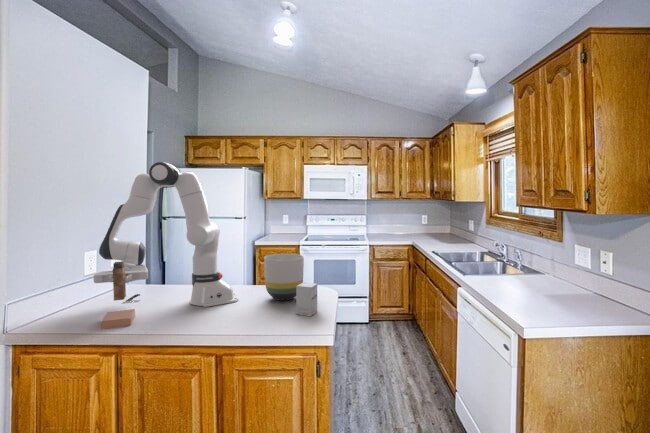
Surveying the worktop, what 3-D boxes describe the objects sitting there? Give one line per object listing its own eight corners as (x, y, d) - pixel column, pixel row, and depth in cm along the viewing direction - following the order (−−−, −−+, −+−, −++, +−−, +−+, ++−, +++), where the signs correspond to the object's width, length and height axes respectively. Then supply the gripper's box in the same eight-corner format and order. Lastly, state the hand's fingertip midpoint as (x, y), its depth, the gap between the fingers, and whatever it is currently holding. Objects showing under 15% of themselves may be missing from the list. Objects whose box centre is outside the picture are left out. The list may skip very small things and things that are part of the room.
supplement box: (311, 316, 147) (311, 287, 146) (295, 314, 149) (295, 285, 149) (317, 311, 154) (317, 283, 153) (302, 309, 156) (302, 281, 156)
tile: (134, 308, 148) (130, 317, 136) (135, 316, 148) (130, 326, 137) (107, 311, 144) (101, 321, 133) (108, 319, 144) (101, 329, 133)
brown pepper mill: (125, 296, 146) (124, 261, 145) (123, 299, 141) (122, 263, 140) (116, 297, 144) (114, 261, 143) (113, 300, 140) (112, 264, 139)
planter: (298, 292, 185) (298, 252, 184) (308, 302, 166) (308, 258, 165) (262, 295, 179) (261, 254, 178) (267, 306, 160) (267, 261, 159)
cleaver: (154, 294, 181) (134, 295, 180) (154, 293, 181) (134, 294, 180) (125, 313, 152) (102, 314, 151) (125, 312, 152) (102, 312, 151)
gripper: (97, 267, 150) (88, 274, 137) (149, 264, 158) (146, 270, 145) (97, 282, 150) (89, 289, 138) (150, 278, 158) (146, 285, 145)
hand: (118, 279), depth 141 cm, fingers closed on brown pepper mill, 3 cm apart
